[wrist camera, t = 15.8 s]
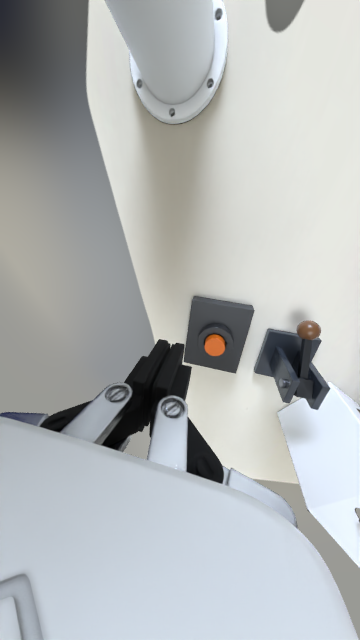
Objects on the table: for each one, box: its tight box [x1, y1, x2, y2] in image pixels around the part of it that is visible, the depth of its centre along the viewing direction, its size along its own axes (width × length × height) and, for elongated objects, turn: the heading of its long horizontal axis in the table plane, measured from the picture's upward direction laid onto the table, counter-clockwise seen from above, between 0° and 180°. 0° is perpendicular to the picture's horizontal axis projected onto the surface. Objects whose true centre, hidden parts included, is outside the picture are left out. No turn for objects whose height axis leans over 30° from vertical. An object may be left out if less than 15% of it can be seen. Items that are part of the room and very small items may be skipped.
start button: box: [205, 334, 225, 356], centre depth 34 cm, size 4×4×2 cm
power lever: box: [294, 321, 321, 400], centre depth 29 cm, size 12×3×3 cm
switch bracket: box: [254, 329, 330, 410], centre depth 32 cm, size 10×9×11 cm
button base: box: [184, 296, 254, 373], centre depth 36 cm, size 14×11×4 cm
